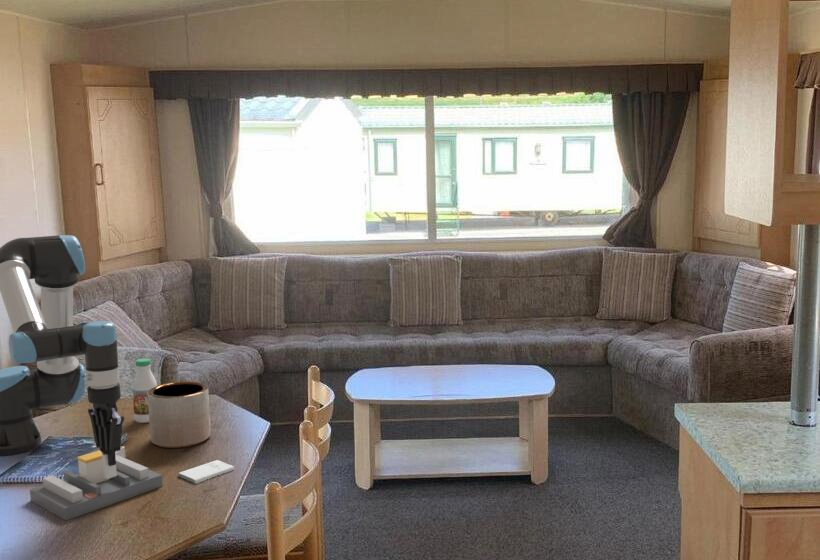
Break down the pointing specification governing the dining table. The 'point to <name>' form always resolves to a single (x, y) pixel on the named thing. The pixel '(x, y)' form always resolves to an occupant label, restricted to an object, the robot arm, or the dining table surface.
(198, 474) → the external hard drive
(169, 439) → the planter
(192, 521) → the dining table surface
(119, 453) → the white angled block
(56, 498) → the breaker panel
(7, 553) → the dining table surface
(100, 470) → the block
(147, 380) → the milk bottle
